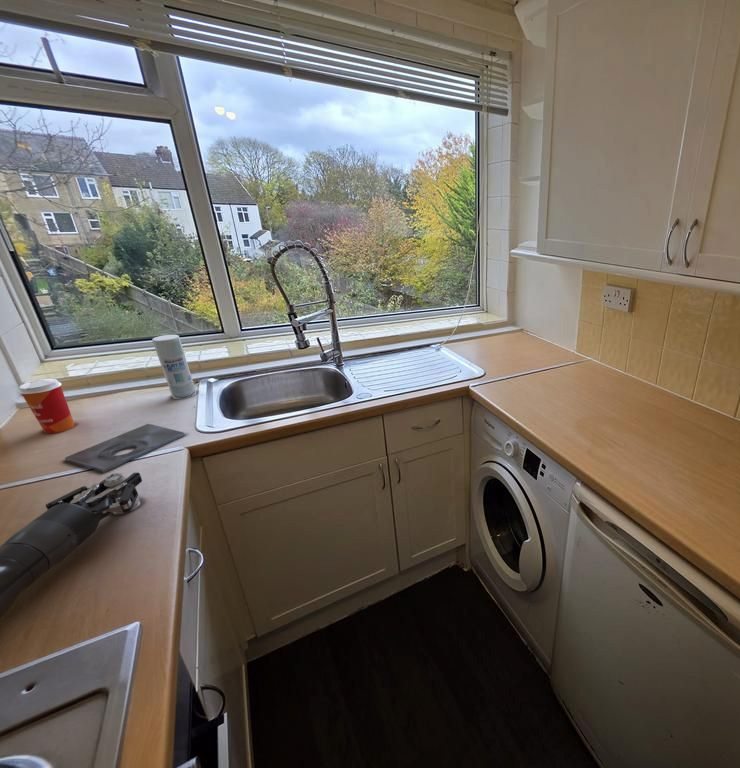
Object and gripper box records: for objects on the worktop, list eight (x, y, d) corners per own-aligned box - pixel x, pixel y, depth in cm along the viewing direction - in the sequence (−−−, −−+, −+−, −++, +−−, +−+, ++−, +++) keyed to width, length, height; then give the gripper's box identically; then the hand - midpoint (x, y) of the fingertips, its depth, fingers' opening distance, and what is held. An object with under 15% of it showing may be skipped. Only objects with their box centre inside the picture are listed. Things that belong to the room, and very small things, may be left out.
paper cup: (37, 431, 110) (13, 384, 105) (76, 420, 116) (56, 375, 111) (43, 440, 106) (19, 391, 101) (84, 428, 112) (62, 382, 106)
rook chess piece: (107, 513, 81) (92, 480, 78) (133, 500, 85) (120, 468, 82) (121, 519, 80) (106, 486, 77) (147, 505, 84) (133, 473, 81)
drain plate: (105, 474, 93) (102, 469, 93) (67, 462, 97) (64, 457, 97) (185, 437, 109) (183, 432, 108) (149, 428, 113) (147, 423, 112)
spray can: (195, 390, 136) (177, 333, 128) (199, 396, 132) (180, 337, 124) (171, 396, 132) (150, 337, 124) (174, 402, 128) (153, 341, 120)
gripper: (87, 518, 67) (159, 459, 82) (-10, 523, 65) (82, 462, 81) (105, 552, 69) (171, 489, 85) (12, 558, 68) (97, 493, 84)
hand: (127, 476), depth 83 cm, fingers closed on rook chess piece, 3 cm apart
